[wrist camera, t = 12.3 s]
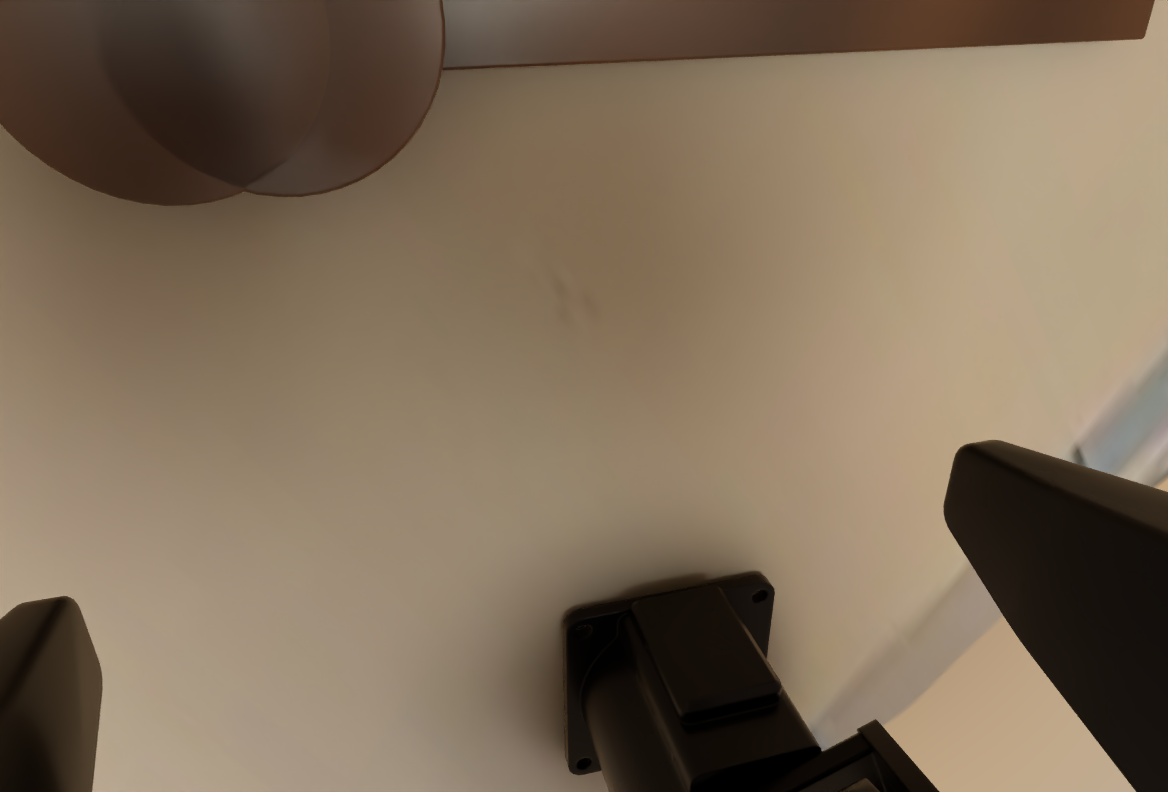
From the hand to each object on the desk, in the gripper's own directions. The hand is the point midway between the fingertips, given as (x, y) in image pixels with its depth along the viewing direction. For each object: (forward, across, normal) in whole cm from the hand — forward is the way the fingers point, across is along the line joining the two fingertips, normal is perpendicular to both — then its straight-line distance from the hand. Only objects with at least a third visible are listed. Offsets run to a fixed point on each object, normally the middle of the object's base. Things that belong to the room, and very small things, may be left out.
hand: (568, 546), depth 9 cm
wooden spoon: (+12, -5, -4) cm, 14 cm away
